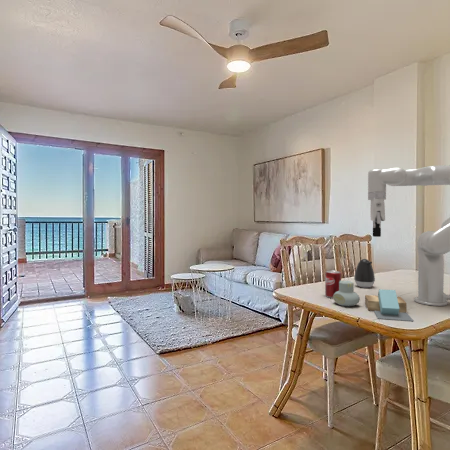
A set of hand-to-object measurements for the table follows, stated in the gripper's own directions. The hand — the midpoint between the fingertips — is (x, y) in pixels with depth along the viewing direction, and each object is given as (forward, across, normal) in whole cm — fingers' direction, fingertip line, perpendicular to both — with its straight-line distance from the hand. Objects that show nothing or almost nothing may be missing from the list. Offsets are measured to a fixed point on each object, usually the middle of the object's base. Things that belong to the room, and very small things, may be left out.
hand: (376, 236), depth 150 cm
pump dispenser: (+29, +26, +2) cm, 39 cm away
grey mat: (+29, -26, -2) cm, 39 cm away
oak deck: (+29, -15, -1) cm, 33 cm away
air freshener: (+29, -13, +14) cm, 35 cm away
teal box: (+26, -21, -1) cm, 34 cm away
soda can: (+29, 0, +19) cm, 35 cm away
